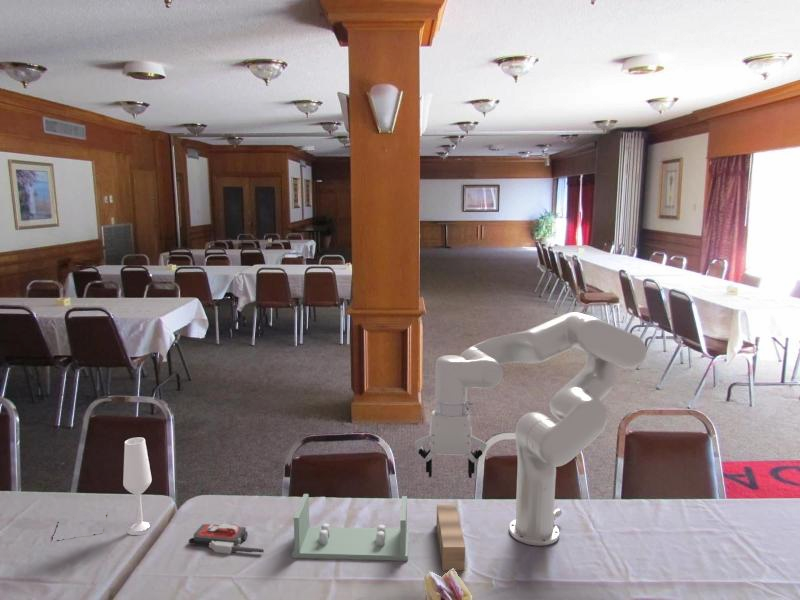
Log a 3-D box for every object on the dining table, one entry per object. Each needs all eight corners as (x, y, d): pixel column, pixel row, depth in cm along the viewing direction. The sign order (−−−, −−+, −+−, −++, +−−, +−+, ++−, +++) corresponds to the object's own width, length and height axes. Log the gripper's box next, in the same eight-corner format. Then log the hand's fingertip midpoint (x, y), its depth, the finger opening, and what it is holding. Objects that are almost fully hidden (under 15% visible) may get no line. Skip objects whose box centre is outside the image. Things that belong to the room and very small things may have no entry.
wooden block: (436, 525, 157) (436, 504, 156) (455, 525, 157) (455, 504, 157) (442, 571, 138) (443, 547, 137) (464, 571, 138) (465, 547, 137)
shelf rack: (409, 533, 153) (409, 496, 151) (407, 560, 141) (408, 520, 140) (302, 530, 154) (301, 493, 153) (292, 557, 142) (291, 517, 141)
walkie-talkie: (184, 551, 145) (262, 558, 142) (183, 534, 145) (261, 541, 142) (201, 532, 154) (275, 539, 151) (200, 516, 153) (274, 522, 150)
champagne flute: (120, 532, 153) (114, 443, 149) (140, 520, 159) (135, 434, 155) (140, 538, 150) (134, 447, 147) (160, 525, 156) (155, 438, 153)
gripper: (485, 403, 145) (484, 469, 148) (414, 402, 146) (414, 468, 149) (488, 413, 138) (487, 483, 141) (414, 412, 139) (414, 481, 141)
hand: (449, 475), depth 145 cm, fingers open, 9 cm apart
